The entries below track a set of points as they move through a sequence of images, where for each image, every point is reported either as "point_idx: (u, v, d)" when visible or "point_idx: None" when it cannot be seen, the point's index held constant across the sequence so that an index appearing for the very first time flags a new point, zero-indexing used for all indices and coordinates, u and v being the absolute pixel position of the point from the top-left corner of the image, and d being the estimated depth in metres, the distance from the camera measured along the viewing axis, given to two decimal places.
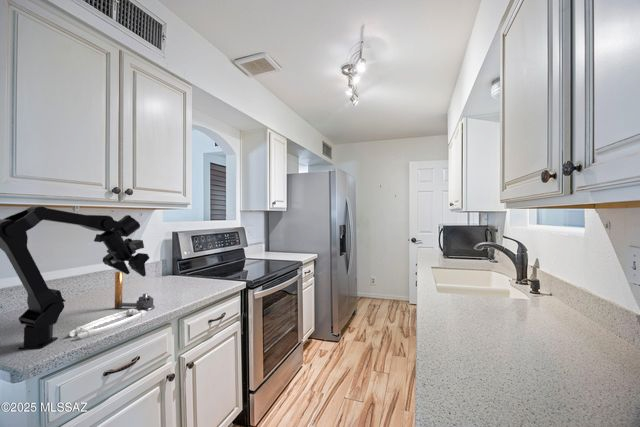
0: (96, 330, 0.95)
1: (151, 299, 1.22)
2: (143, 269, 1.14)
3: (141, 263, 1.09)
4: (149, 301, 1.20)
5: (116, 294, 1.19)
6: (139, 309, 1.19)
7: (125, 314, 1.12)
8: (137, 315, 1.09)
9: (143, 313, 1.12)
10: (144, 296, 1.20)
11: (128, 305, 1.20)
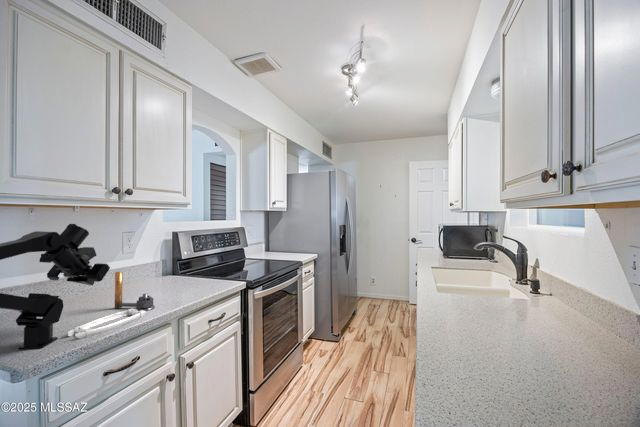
0: (94, 330, 0.95)
1: (151, 299, 1.22)
2: None
3: (103, 275, 1.00)
4: (149, 301, 1.20)
5: (116, 294, 1.19)
6: (139, 309, 1.19)
7: (125, 314, 1.12)
8: (136, 315, 1.09)
9: (142, 313, 1.12)
10: (144, 296, 1.20)
11: (128, 305, 1.20)
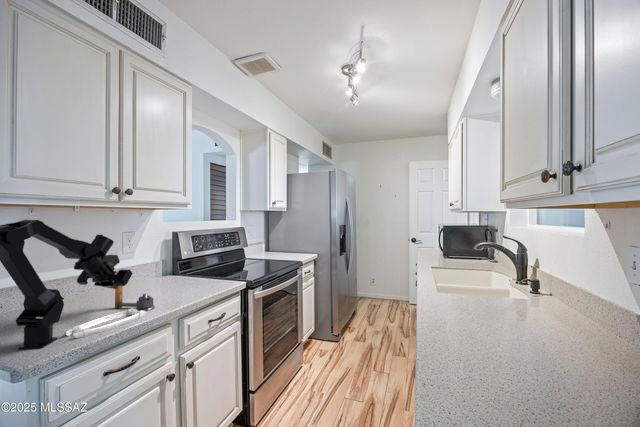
0: (92, 330, 0.95)
1: (151, 299, 1.22)
2: None
3: (127, 280, 1.13)
4: (149, 301, 1.20)
5: (116, 294, 1.20)
6: (139, 309, 1.19)
7: (125, 314, 1.12)
8: (135, 315, 1.09)
9: (142, 313, 1.12)
10: (144, 296, 1.20)
11: (128, 305, 1.20)
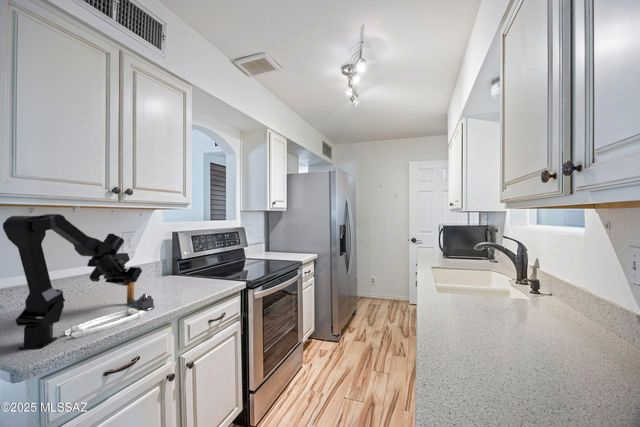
0: (90, 330, 0.95)
1: (150, 300, 1.20)
2: None
3: (137, 277, 1.18)
4: (146, 302, 1.19)
5: (127, 291, 1.25)
6: (139, 309, 1.19)
7: (124, 314, 1.13)
8: (135, 315, 1.09)
9: (141, 313, 1.11)
10: (144, 296, 1.20)
11: (134, 303, 1.23)
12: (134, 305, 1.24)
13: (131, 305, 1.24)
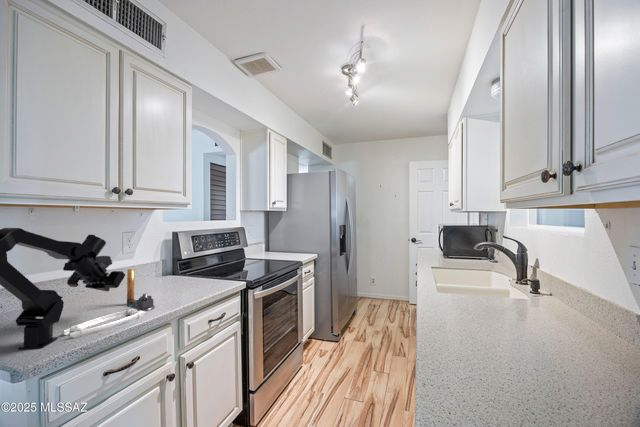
0: (89, 330, 0.95)
1: (150, 300, 1.20)
2: None
3: (119, 282, 1.08)
4: (146, 302, 1.19)
5: (127, 291, 1.25)
6: (139, 309, 1.19)
7: (124, 314, 1.13)
8: (134, 315, 1.09)
9: (141, 313, 1.11)
10: (144, 296, 1.20)
11: (134, 303, 1.23)
12: (134, 305, 1.24)
13: (131, 305, 1.24)
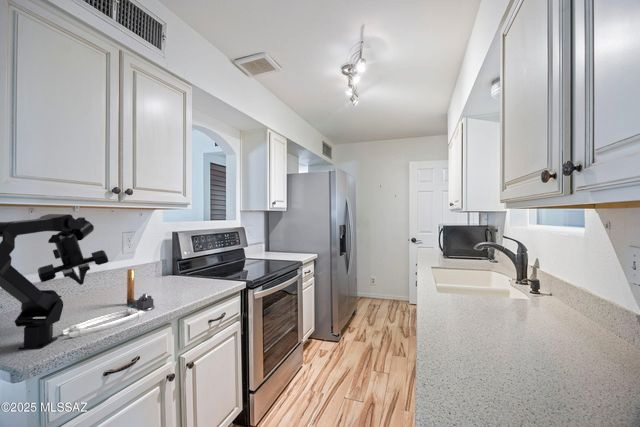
0: (88, 329, 0.95)
1: (150, 300, 1.20)
2: None
3: None
4: (146, 302, 1.19)
5: (127, 291, 1.25)
6: (139, 309, 1.19)
7: (124, 313, 1.13)
8: (133, 315, 1.08)
9: (140, 313, 1.11)
10: (144, 296, 1.20)
11: (134, 303, 1.23)
12: (134, 305, 1.24)
13: (131, 305, 1.24)
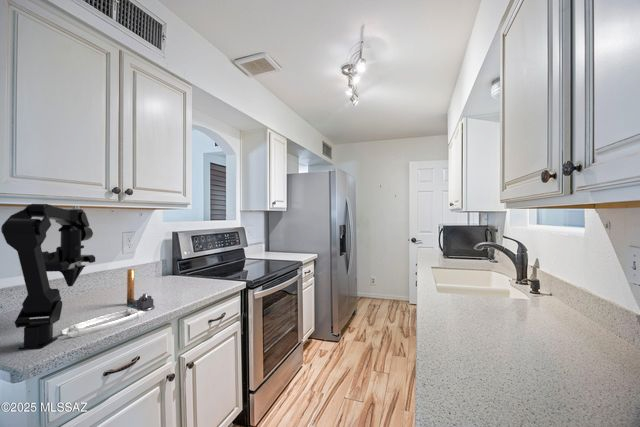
0: (87, 329, 0.95)
1: (150, 300, 1.20)
2: None
3: None
4: (146, 302, 1.19)
5: (127, 291, 1.25)
6: (139, 309, 1.19)
7: (124, 314, 1.13)
8: (133, 315, 1.08)
9: (140, 314, 1.11)
10: (144, 296, 1.20)
11: (134, 303, 1.23)
12: (134, 305, 1.24)
13: (131, 305, 1.24)
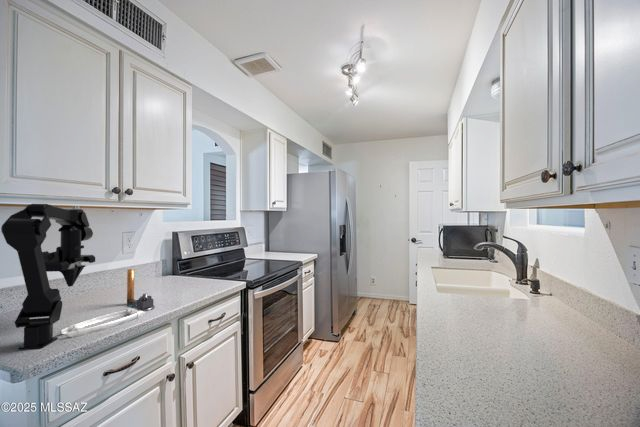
0: (86, 329, 0.95)
1: (150, 300, 1.20)
2: None
3: None
4: (146, 302, 1.19)
5: (127, 291, 1.25)
6: (139, 309, 1.19)
7: (124, 313, 1.13)
8: (132, 315, 1.08)
9: (140, 314, 1.11)
10: (144, 296, 1.20)
11: (134, 303, 1.23)
12: (134, 305, 1.24)
13: (131, 305, 1.24)
